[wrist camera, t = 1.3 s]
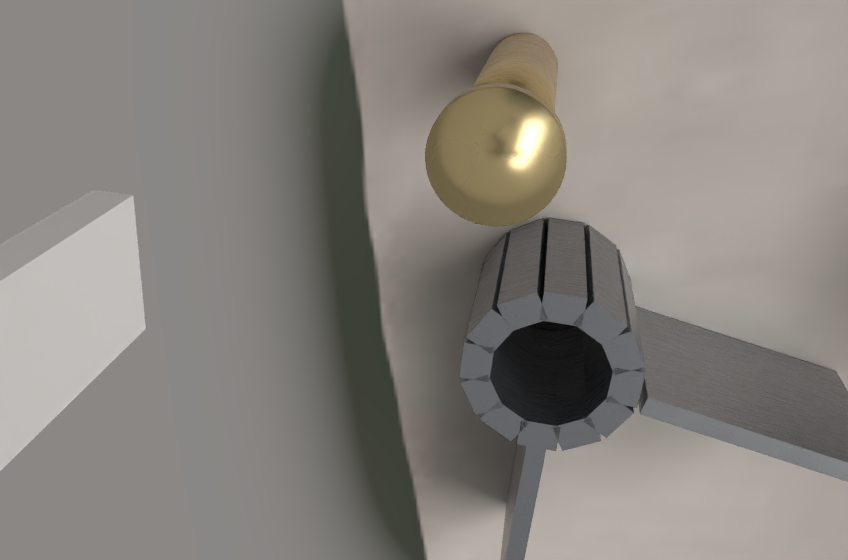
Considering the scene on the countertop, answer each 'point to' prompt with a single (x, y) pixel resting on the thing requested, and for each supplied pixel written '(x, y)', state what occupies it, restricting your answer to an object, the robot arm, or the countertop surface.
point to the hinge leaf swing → (744, 394)
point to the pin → (501, 138)
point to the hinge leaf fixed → (550, 352)
